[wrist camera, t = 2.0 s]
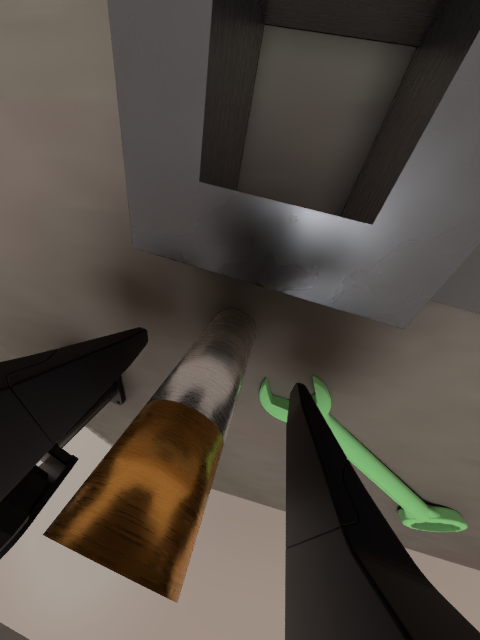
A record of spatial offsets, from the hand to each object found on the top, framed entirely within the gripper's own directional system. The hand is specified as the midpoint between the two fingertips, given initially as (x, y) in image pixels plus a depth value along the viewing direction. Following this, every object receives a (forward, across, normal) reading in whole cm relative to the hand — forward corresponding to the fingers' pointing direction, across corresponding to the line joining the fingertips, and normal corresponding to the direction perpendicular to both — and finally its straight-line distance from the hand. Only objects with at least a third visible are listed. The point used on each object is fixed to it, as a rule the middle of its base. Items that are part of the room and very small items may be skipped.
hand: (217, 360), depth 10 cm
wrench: (+4, -15, +9) cm, 18 cm away
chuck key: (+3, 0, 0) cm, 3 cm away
